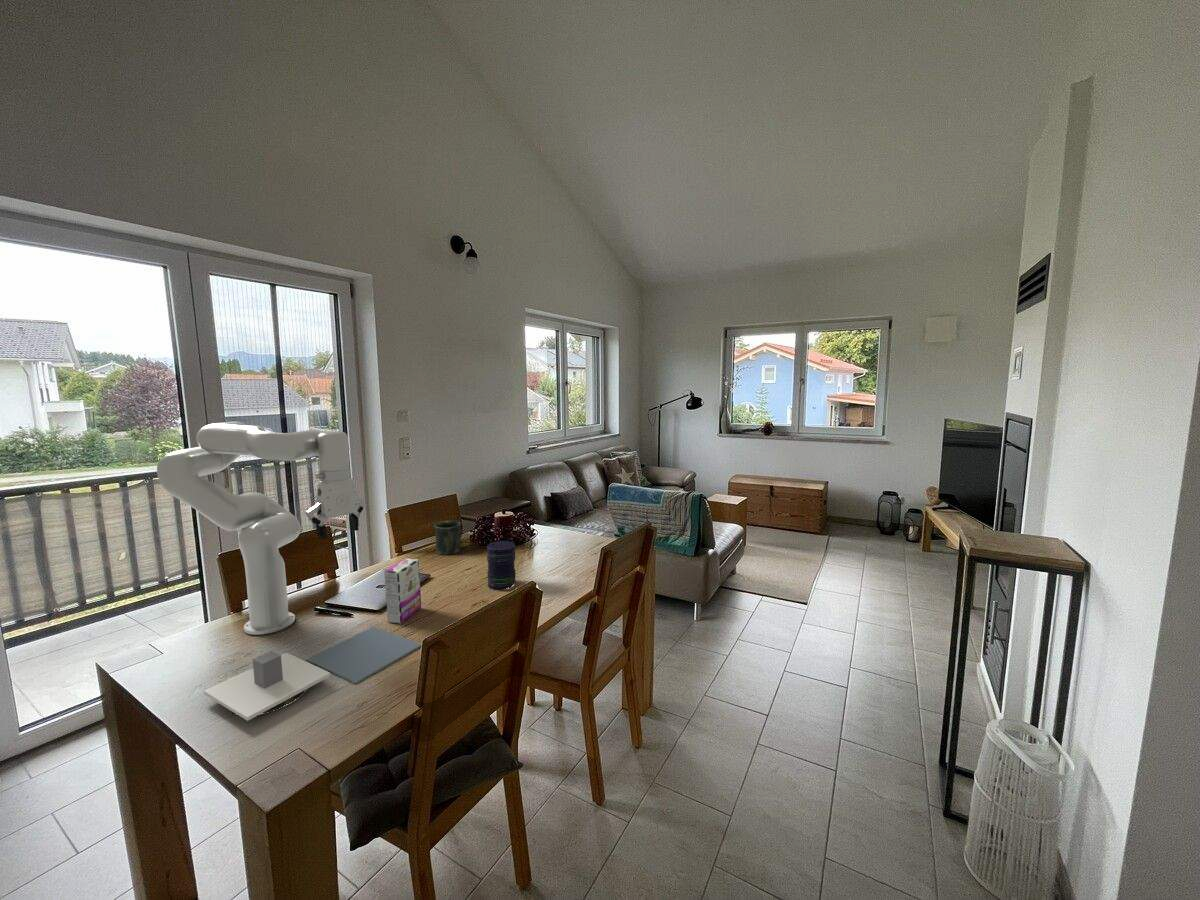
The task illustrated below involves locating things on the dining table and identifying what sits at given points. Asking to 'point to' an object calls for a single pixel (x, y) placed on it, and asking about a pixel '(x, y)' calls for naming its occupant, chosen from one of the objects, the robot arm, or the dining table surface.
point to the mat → (364, 654)
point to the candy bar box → (402, 590)
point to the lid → (266, 684)
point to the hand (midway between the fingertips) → (338, 534)
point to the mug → (448, 537)
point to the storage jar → (501, 564)
